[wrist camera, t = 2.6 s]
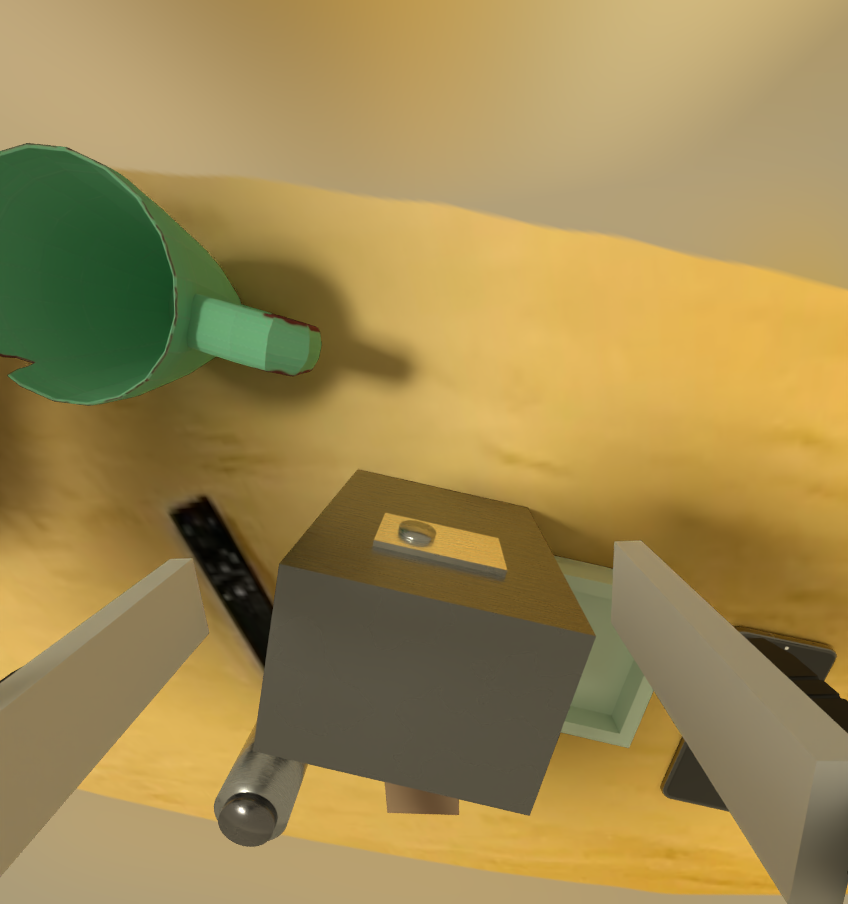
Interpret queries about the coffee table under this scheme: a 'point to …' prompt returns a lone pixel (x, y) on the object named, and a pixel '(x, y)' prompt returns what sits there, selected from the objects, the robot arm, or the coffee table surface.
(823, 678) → the smartphone
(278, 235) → the coffee table surface
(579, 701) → the tray
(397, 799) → the walnut block
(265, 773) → the cartridge
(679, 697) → the robot arm
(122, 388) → the mug
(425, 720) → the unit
